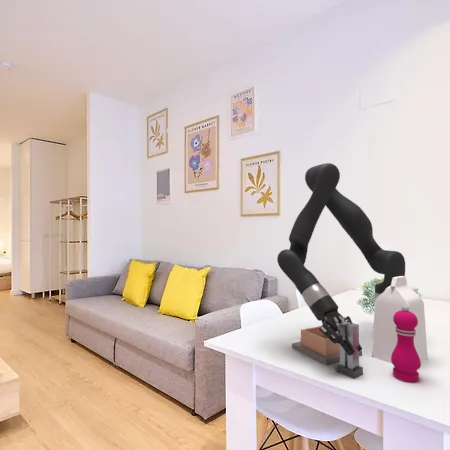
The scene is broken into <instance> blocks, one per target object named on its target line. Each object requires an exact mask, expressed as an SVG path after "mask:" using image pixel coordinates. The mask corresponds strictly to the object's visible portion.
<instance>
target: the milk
mask: <svg viewBox="0 0 450 450" xmlns="http://www.w3.org/2000/svg"><path fill="white" fill-rule="evenodd" d="M404 305H406V306H408V307H409V310H408V311H410V312H412V313H414V314H415V315H416V317H417V319H418V325H417V326H416V327H415V328H414V329H415V330H416V332H415V333H416V335H415V336H414V346H415V349H416V351H417V353H418V355H419V358H420V362H421V364H423V363H424V362H426V361H428V360H429V358H428V346H427V345H428V343H427V330H426V328H427V327H426V316H425V302H424V300H423V299H422V297H421V296H420V295H419V294H418V293H417V292H415V290H414V289H413V288H412V287H411V286H409V285H408V282H407V277H406V275H405V276H398V277H393V278H392V282H391V286H389V287H387V288H386V289H385V291H384V292H383V293H382V294H380V295H379V296H378V297H377V298H376V300H375V299H374V312H373V313H374V314H373V333H372V334H373V337H372V357H373V358H375V359H378V360H381V361H383V362H387V363H391V364H392V362H391V355H392V352H393V350H394V349H395V347H396V344H397V333H396V332H395V330H396V329H395V327H397V326H396V325H395V323H394V321H393V317H394V314H395V313H396V312H398V311H401V310H402V306H404ZM427 359H428V360H427ZM425 360H426V361H425ZM422 362H423V363H422Z"/></svg>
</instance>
